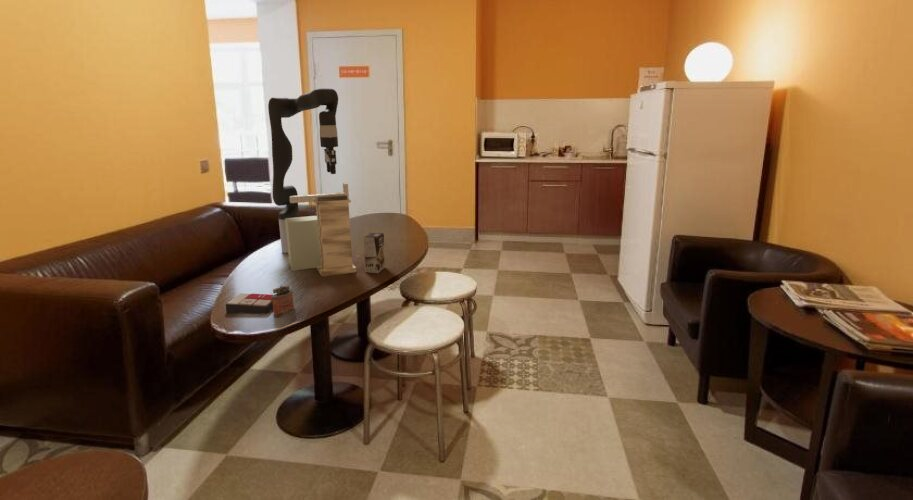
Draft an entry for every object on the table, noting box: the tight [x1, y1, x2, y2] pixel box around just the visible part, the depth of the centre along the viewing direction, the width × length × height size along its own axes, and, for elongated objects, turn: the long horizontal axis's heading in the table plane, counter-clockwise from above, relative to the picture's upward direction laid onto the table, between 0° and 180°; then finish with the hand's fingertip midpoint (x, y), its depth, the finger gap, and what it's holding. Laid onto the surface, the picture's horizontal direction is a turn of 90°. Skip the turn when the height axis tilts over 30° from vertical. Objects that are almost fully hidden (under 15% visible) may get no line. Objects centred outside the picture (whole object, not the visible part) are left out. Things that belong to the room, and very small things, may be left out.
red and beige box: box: [225, 292, 273, 315], centre depth 180 cm, size 11×4×15 cm
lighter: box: [271, 284, 296, 319], centre depth 173 cm, size 8×3×10 cm, turn 145°
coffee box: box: [363, 232, 386, 274], centre depth 221 cm, size 9×6×16 cm
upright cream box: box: [285, 215, 321, 272], centre depth 228 cm, size 10×16×22 cm, turn 115°
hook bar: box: [289, 182, 350, 204], centre depth 211 cm, size 3×24×6 cm, turn 115°
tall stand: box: [313, 196, 357, 277], centre depth 218 cm, size 11×15×34 cm
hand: (331, 173), depth 224 cm, fingers open, 8 cm apart
